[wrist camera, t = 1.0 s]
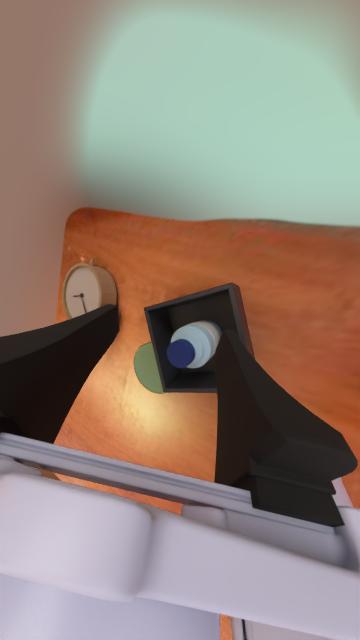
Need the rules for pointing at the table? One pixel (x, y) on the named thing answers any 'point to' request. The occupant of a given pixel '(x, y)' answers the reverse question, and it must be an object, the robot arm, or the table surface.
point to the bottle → (194, 344)
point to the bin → (177, 313)
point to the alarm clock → (87, 289)
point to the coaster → (147, 368)
